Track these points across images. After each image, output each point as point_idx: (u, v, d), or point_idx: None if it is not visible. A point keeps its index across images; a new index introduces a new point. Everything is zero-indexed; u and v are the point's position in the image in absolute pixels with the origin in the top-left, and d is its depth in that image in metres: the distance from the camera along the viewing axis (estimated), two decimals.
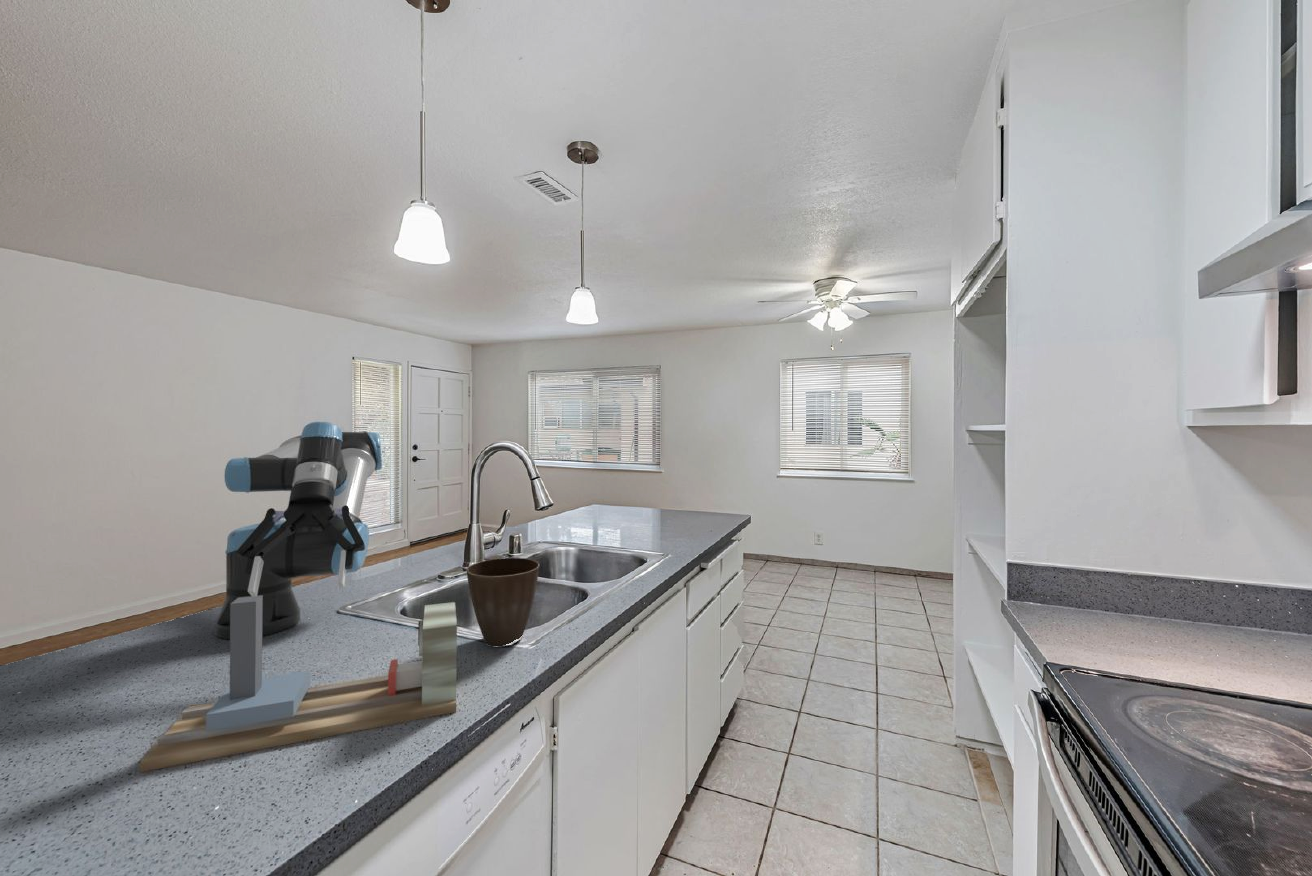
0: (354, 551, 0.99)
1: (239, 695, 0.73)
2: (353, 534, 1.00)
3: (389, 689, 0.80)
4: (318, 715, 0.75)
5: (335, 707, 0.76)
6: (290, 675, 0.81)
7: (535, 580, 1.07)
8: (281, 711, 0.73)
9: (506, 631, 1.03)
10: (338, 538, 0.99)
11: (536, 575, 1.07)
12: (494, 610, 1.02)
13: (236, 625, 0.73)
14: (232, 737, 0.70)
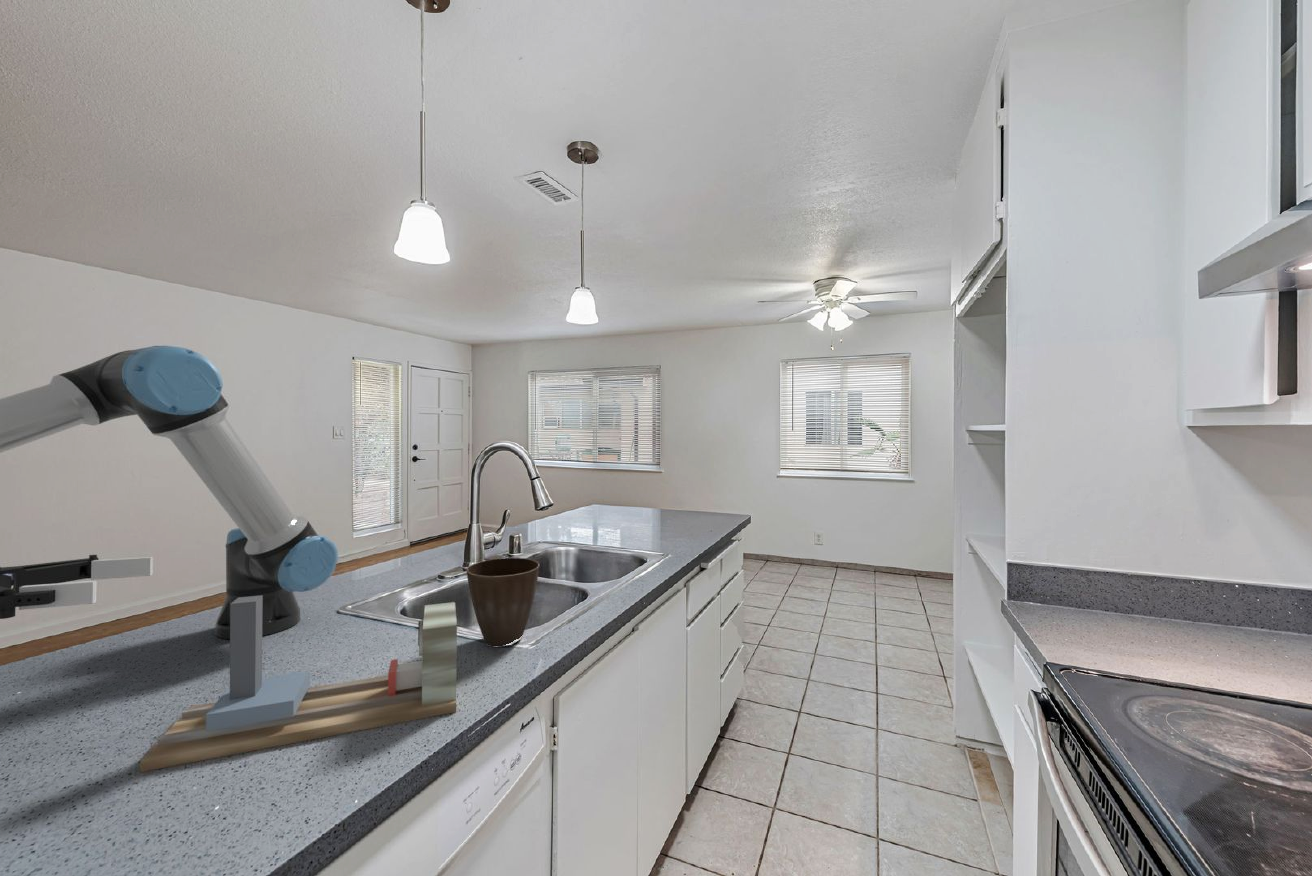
0: (9, 603, 0.59)
1: (239, 695, 0.73)
2: None
3: (389, 689, 0.80)
4: (318, 715, 0.75)
5: (335, 707, 0.76)
6: (290, 675, 0.81)
7: (535, 580, 1.07)
8: (281, 711, 0.73)
9: (506, 631, 1.03)
10: None
11: (536, 575, 1.07)
12: (494, 610, 1.02)
13: (236, 625, 0.73)
14: (232, 737, 0.70)
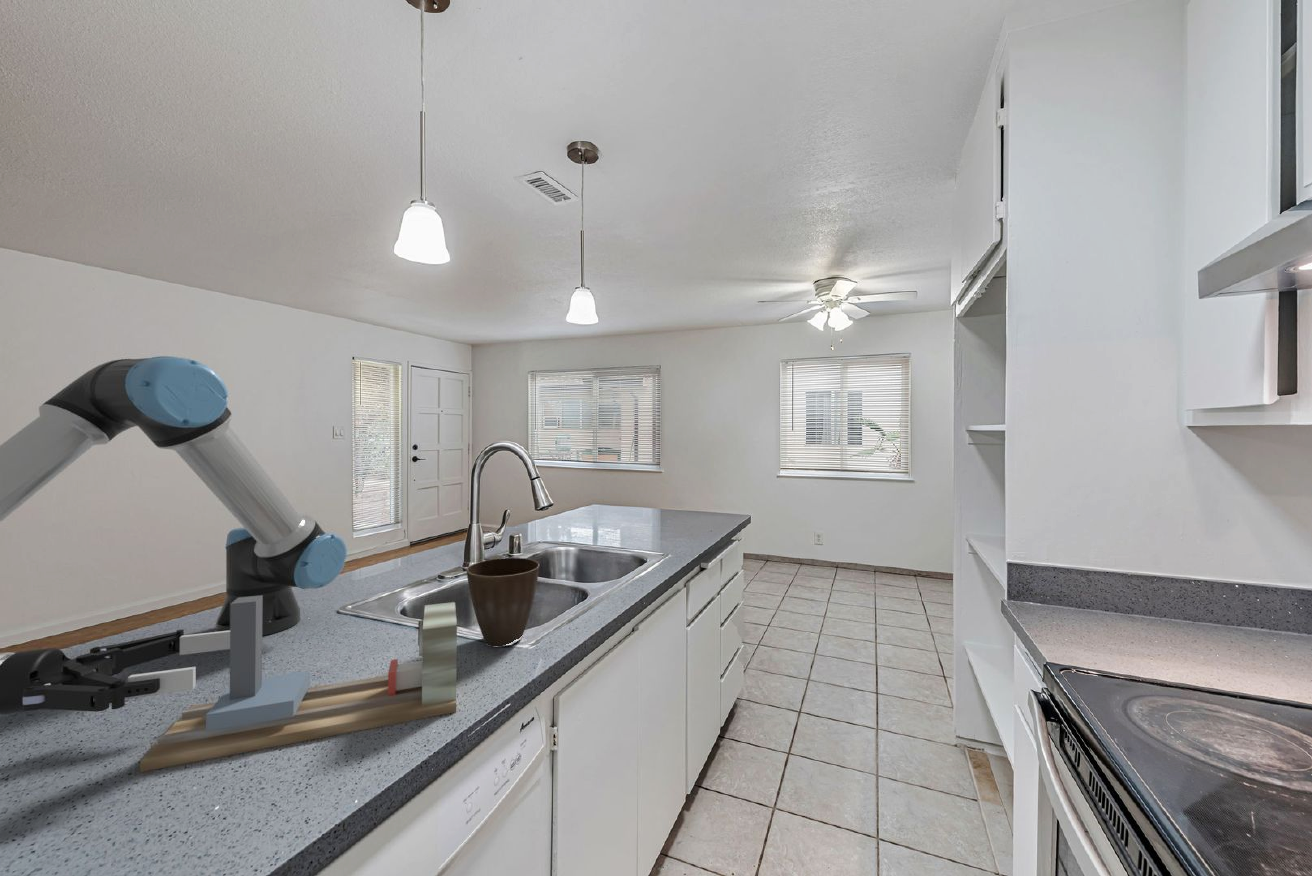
0: (120, 694, 0.63)
1: (239, 695, 0.73)
2: None
3: (389, 689, 0.80)
4: (318, 715, 0.75)
5: (335, 707, 0.76)
6: (290, 675, 0.81)
7: (535, 580, 1.07)
8: (281, 711, 0.73)
9: (506, 631, 1.03)
10: None
11: (536, 575, 1.07)
12: (494, 610, 1.02)
13: (236, 625, 0.73)
14: (232, 737, 0.70)
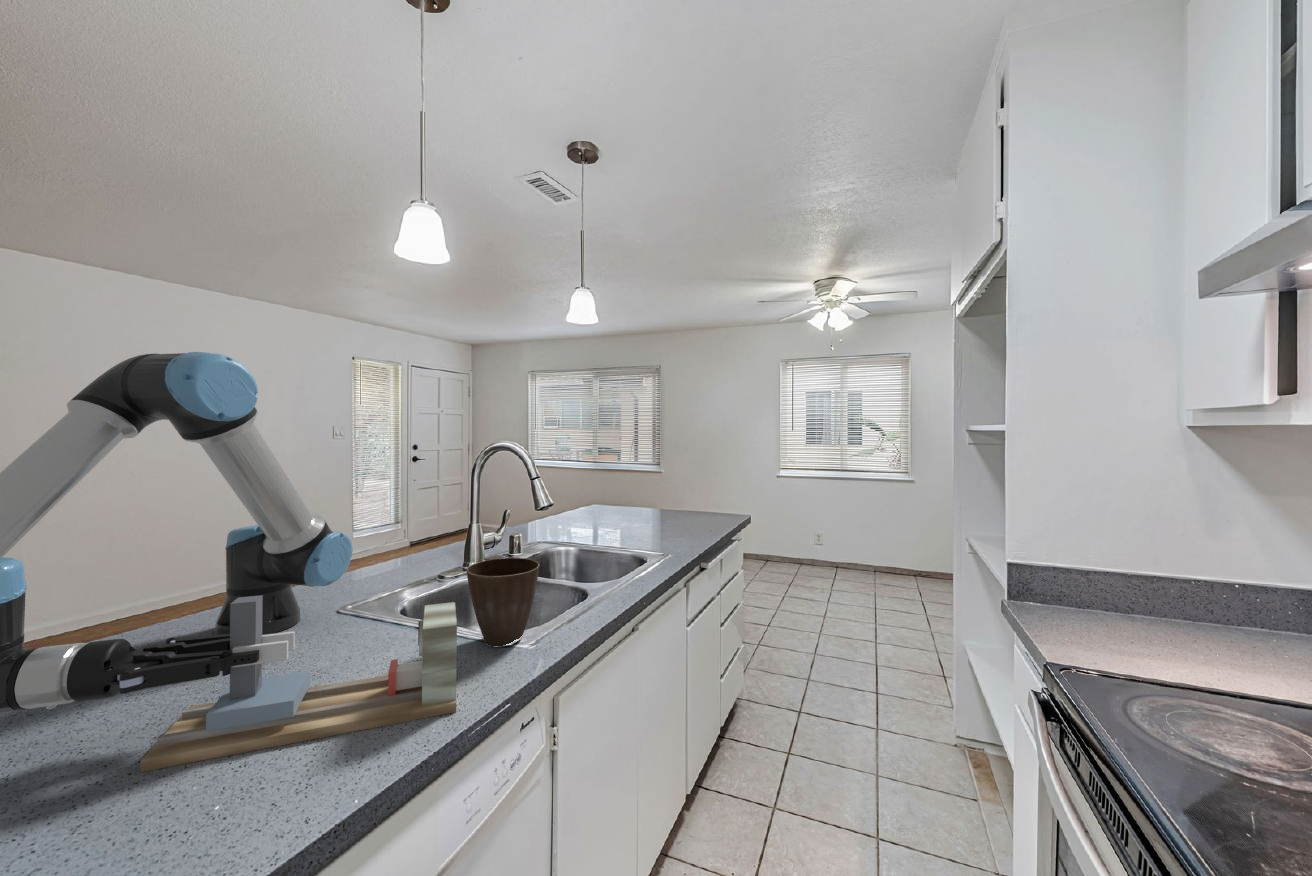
0: (227, 663, 0.71)
1: (239, 695, 0.73)
2: None
3: (389, 689, 0.80)
4: (318, 715, 0.75)
5: (335, 707, 0.76)
6: (290, 675, 0.81)
7: (535, 580, 1.07)
8: (281, 711, 0.73)
9: (506, 631, 1.03)
10: None
11: (536, 575, 1.07)
12: (494, 610, 1.02)
13: (236, 625, 0.73)
14: (232, 737, 0.70)
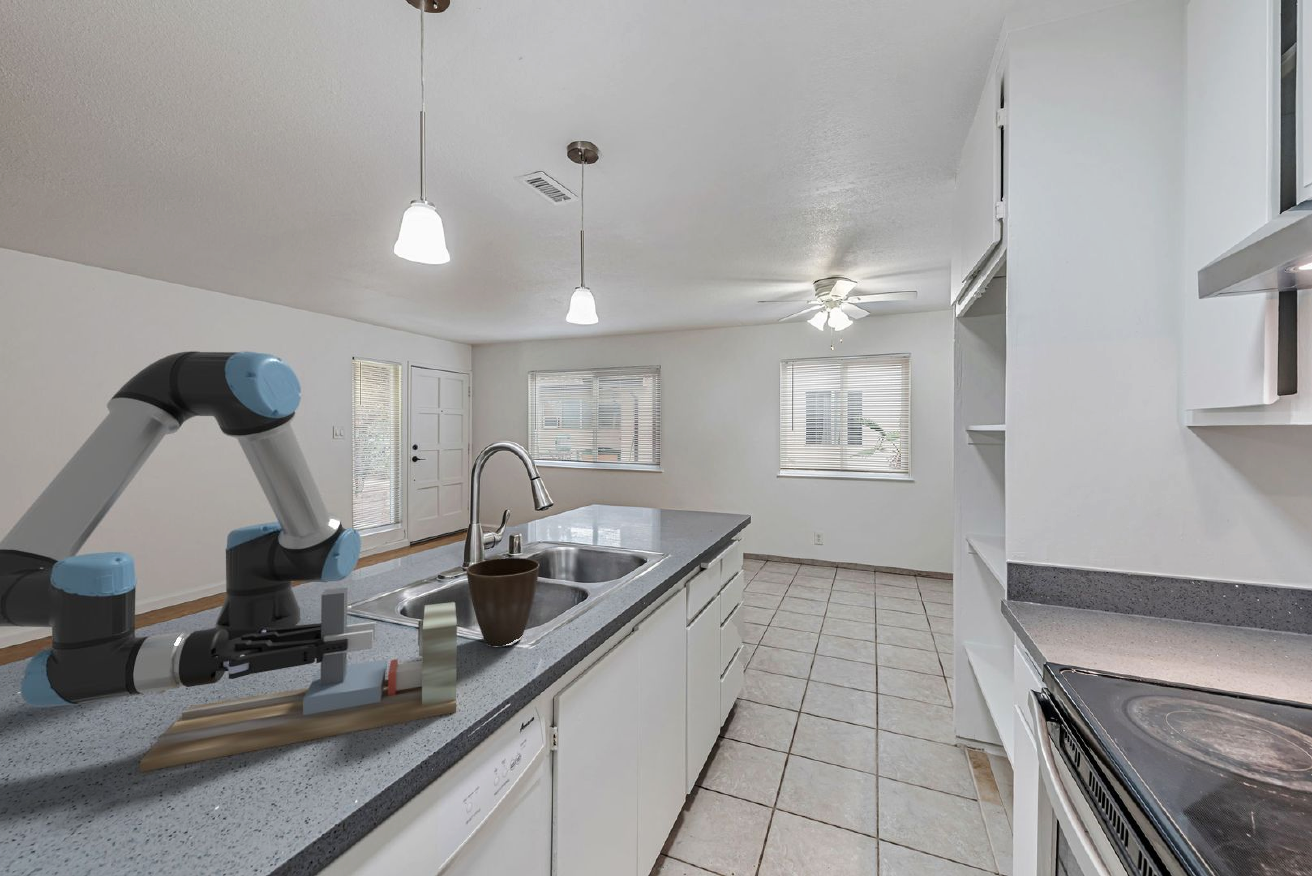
0: (321, 650, 0.76)
1: (329, 681, 0.78)
2: None
3: (389, 689, 0.80)
4: (318, 715, 0.75)
5: None
6: (370, 663, 0.85)
7: (535, 580, 1.07)
8: (369, 696, 0.77)
9: (506, 631, 1.03)
10: None
11: (536, 575, 1.07)
12: (494, 610, 1.02)
13: (326, 615, 0.78)
14: (232, 737, 0.70)
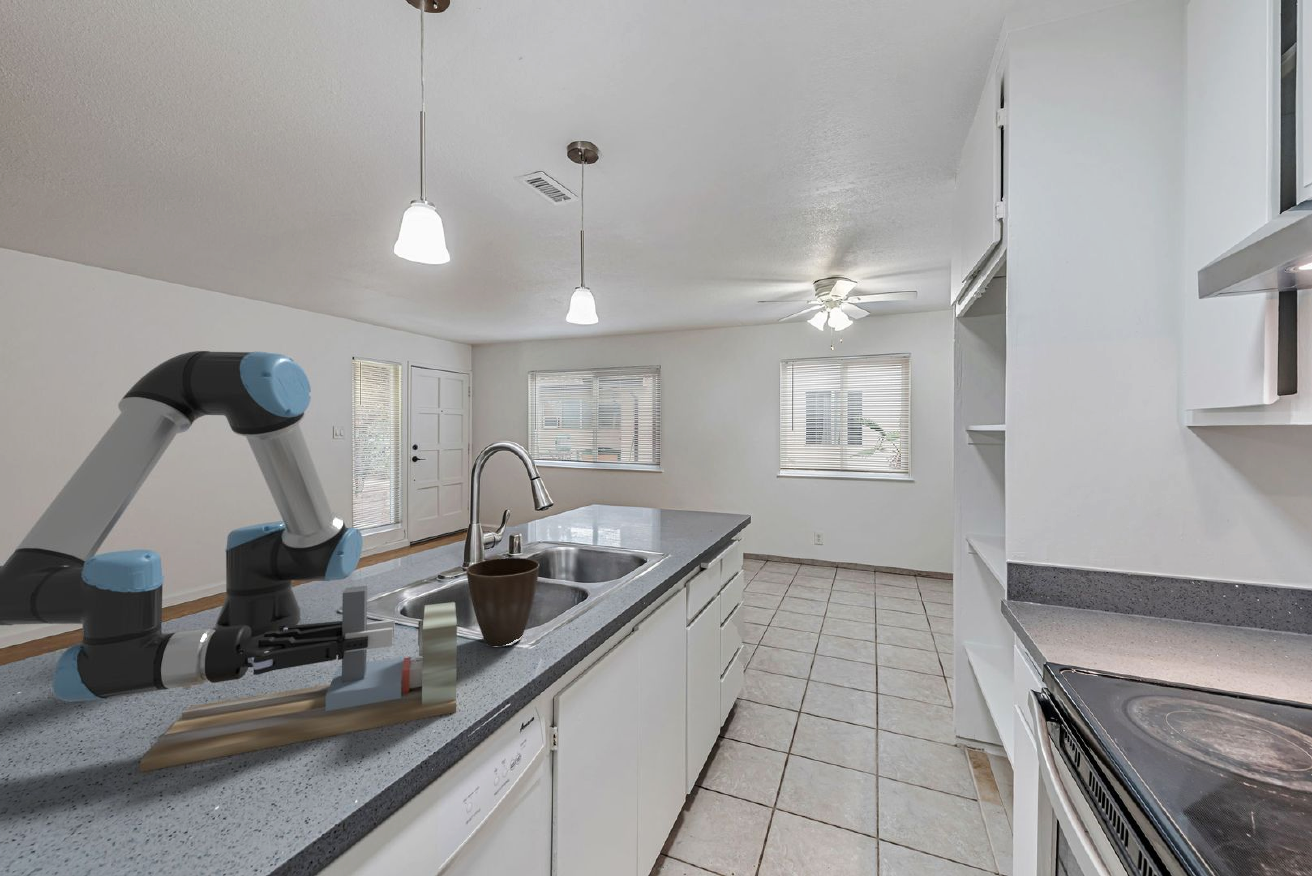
0: (342, 647, 0.77)
1: (350, 678, 0.79)
2: None
3: (403, 687, 0.81)
4: (318, 715, 0.75)
5: None
6: (388, 661, 0.86)
7: (535, 580, 1.07)
8: (390, 693, 0.78)
9: (506, 631, 1.03)
10: None
11: (536, 575, 1.07)
12: (494, 610, 1.02)
13: (347, 613, 0.79)
14: (232, 737, 0.70)
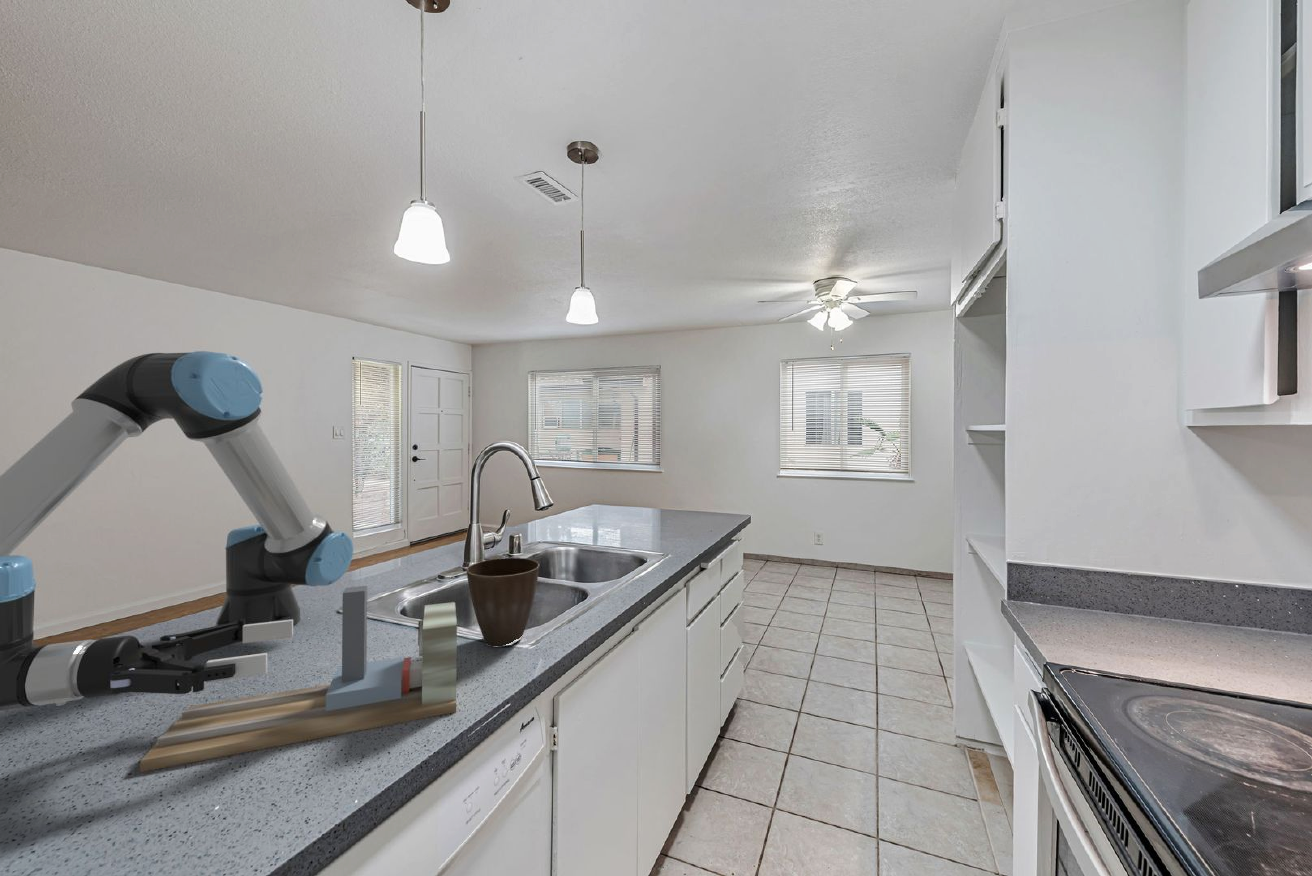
0: (200, 678, 0.66)
1: (350, 678, 0.79)
2: None
3: (403, 687, 0.81)
4: (318, 715, 0.75)
5: None
6: (388, 661, 0.86)
7: (535, 580, 1.07)
8: (390, 693, 0.78)
9: (506, 631, 1.03)
10: None
11: (536, 575, 1.07)
12: (494, 610, 1.02)
13: (347, 613, 0.79)
14: (232, 737, 0.70)
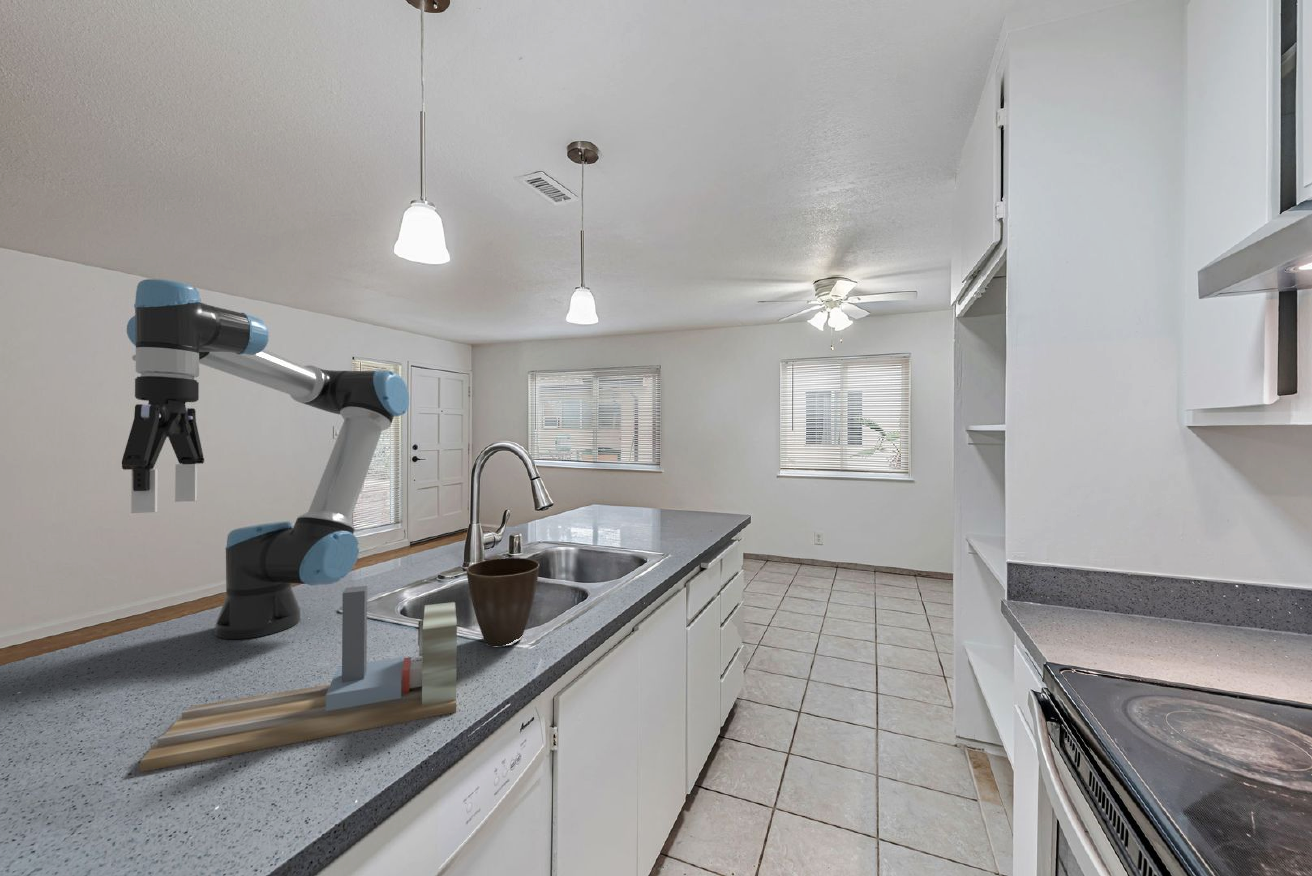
0: (137, 469, 0.75)
1: (350, 678, 0.79)
2: None
3: (403, 687, 0.81)
4: (318, 715, 0.75)
5: None
6: (388, 661, 0.86)
7: (535, 580, 1.07)
8: (390, 693, 0.78)
9: (506, 631, 1.03)
10: None
11: (536, 575, 1.07)
12: (494, 610, 1.02)
13: (347, 613, 0.79)
14: (232, 737, 0.70)
